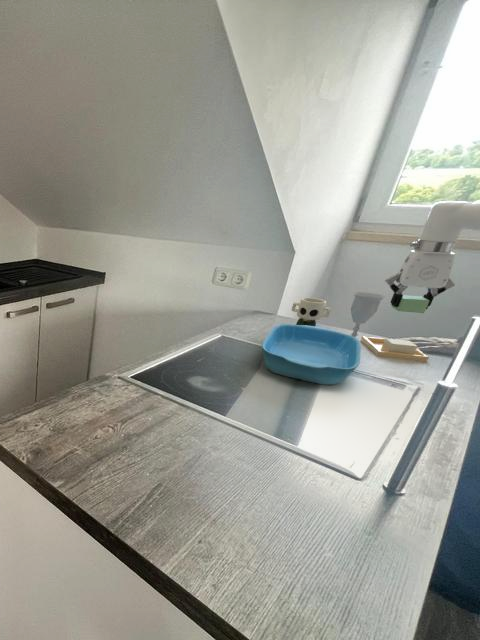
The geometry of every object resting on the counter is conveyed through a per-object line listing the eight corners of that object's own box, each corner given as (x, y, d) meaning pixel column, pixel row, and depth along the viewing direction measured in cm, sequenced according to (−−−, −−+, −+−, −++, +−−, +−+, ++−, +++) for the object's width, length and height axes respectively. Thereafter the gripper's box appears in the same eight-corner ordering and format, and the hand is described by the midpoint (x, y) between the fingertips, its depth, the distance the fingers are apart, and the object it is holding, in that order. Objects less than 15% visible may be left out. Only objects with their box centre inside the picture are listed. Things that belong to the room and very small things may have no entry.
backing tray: (404, 346, 129) (407, 340, 128) (426, 363, 116) (429, 357, 116) (360, 341, 133) (362, 336, 132) (376, 357, 121) (379, 351, 120)
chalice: (357, 345, 130) (378, 293, 123) (367, 353, 124) (389, 298, 117) (331, 343, 132) (349, 291, 125) (340, 350, 126) (359, 297, 119)
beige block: (404, 352, 123) (410, 340, 121) (412, 358, 119) (417, 346, 117) (380, 349, 125) (385, 338, 123) (386, 355, 121) (391, 343, 119)
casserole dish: (350, 398, 99) (360, 373, 96) (250, 374, 112) (256, 352, 109) (354, 354, 124) (362, 333, 121) (271, 338, 137) (277, 319, 134)
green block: (416, 308, 121) (421, 296, 119) (424, 313, 117) (429, 300, 115) (391, 306, 123) (396, 294, 122) (398, 311, 119) (403, 298, 117)
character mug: (282, 333, 142) (292, 299, 136) (287, 329, 146) (297, 295, 141) (318, 341, 134) (330, 305, 129) (323, 336, 138) (335, 301, 133)
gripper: (401, 247, 112) (377, 307, 120) (483, 250, 106) (453, 313, 113) (390, 244, 119) (368, 301, 126) (467, 246, 112) (439, 306, 119)
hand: (408, 306), depth 119 cm, fingers closed on green block, 6 cm apart
